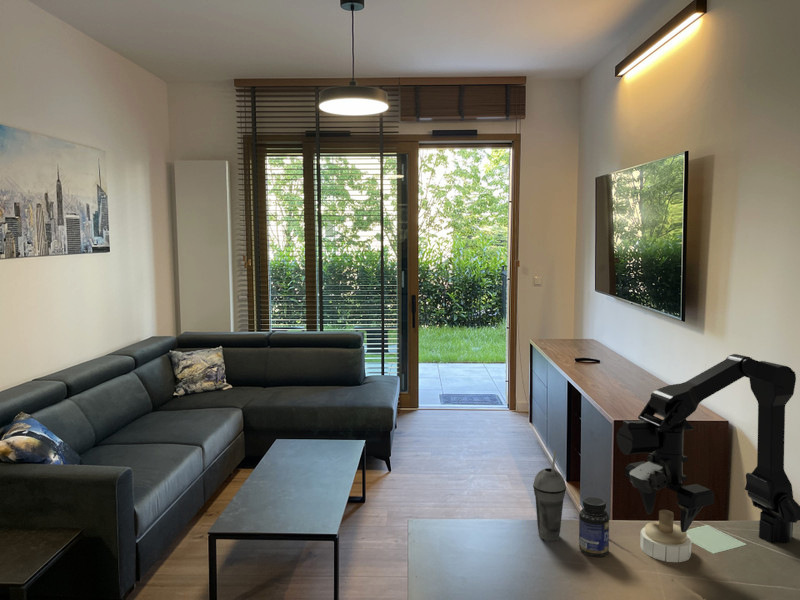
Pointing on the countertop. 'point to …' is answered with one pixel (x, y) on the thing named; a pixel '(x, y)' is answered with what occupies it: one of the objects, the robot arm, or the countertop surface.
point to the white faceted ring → (665, 549)
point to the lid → (665, 530)
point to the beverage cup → (549, 501)
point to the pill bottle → (594, 527)
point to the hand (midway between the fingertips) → (666, 522)
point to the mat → (713, 539)
